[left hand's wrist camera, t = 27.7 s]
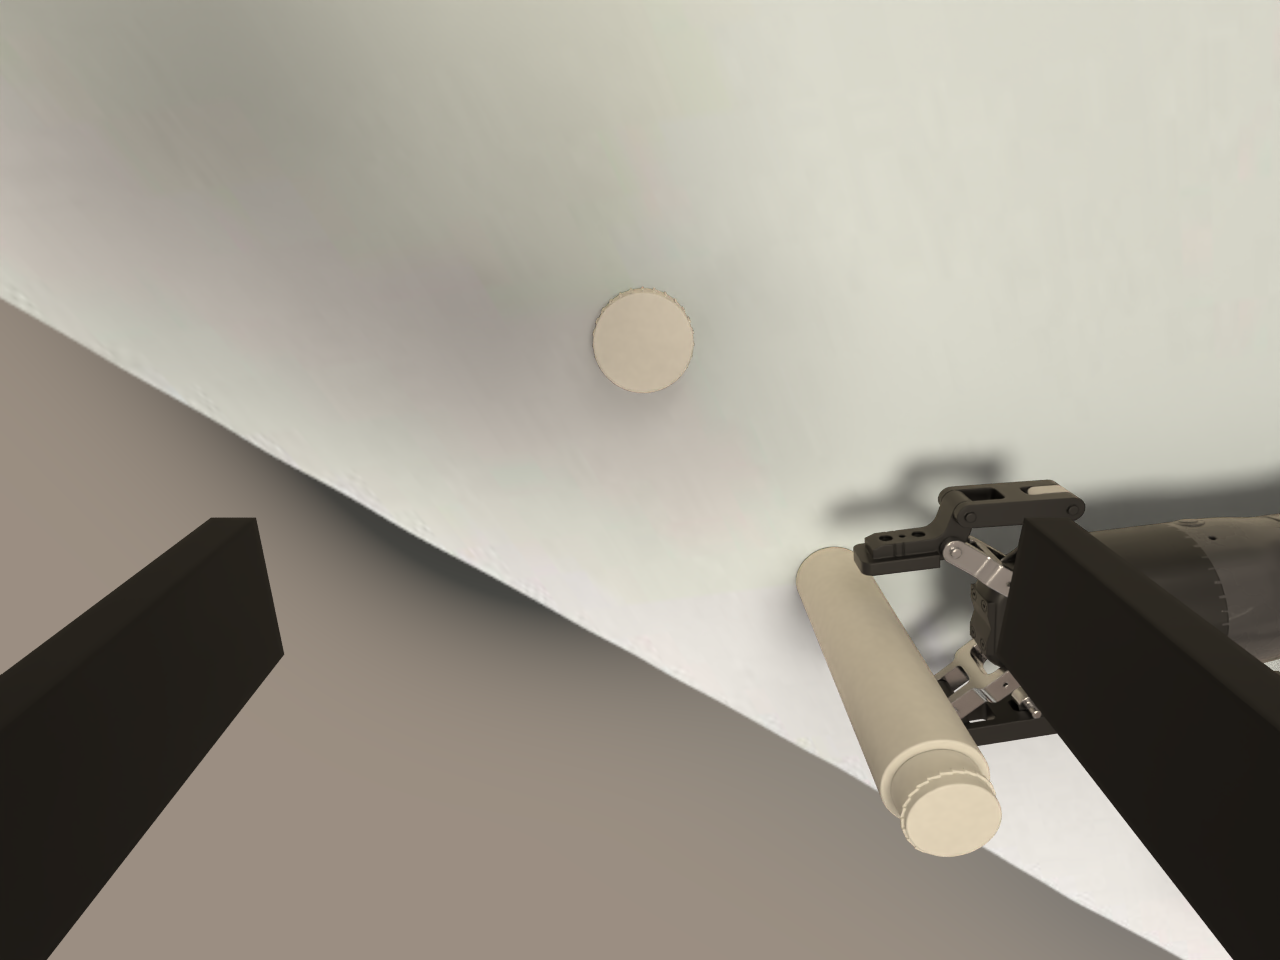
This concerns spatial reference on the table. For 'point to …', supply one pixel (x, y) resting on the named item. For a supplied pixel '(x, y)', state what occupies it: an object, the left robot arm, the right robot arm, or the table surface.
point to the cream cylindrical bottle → (898, 711)
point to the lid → (643, 340)
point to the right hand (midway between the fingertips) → (859, 633)
